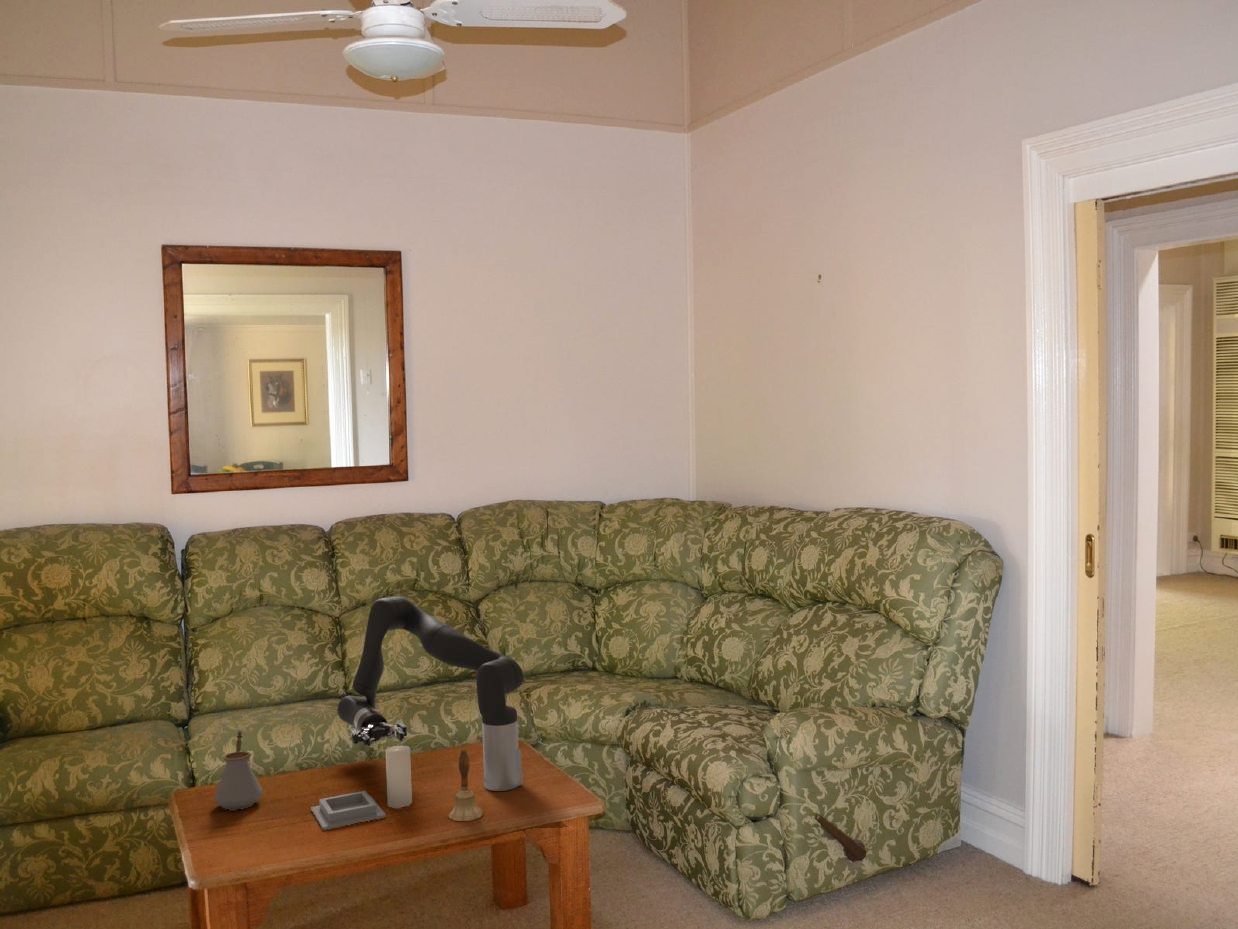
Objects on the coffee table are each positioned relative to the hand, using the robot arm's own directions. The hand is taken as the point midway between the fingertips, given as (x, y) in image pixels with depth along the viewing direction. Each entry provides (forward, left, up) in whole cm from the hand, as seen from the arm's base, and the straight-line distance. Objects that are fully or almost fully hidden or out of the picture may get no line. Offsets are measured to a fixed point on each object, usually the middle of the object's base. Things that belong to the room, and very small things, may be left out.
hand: (385, 740), depth 275 cm
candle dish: (+13, +12, -13) cm, 22 cm away
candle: (0, +12, -13) cm, 18 cm away
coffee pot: (+35, -14, -13) cm, 40 cm away
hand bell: (-12, +28, -14) cm, 33 cm away
